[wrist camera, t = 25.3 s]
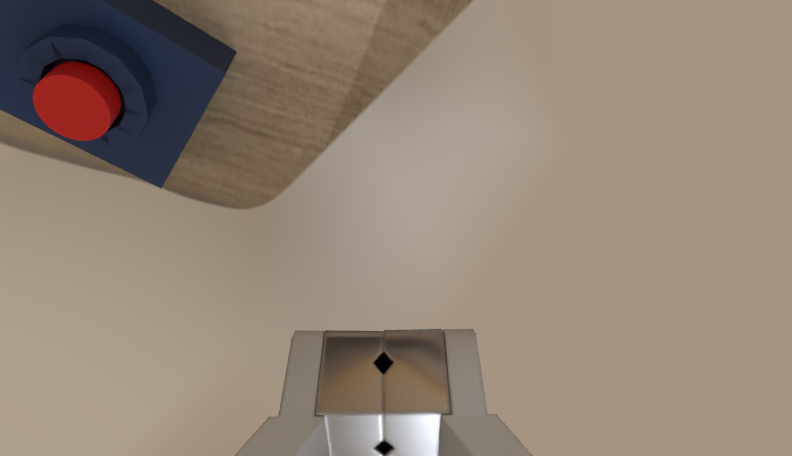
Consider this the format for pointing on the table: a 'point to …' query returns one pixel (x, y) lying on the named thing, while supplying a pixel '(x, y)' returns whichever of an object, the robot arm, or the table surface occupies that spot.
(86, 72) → the stop button
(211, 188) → the table surface
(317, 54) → the table surface
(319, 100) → the table surface
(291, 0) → the table surface
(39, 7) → the stop box
